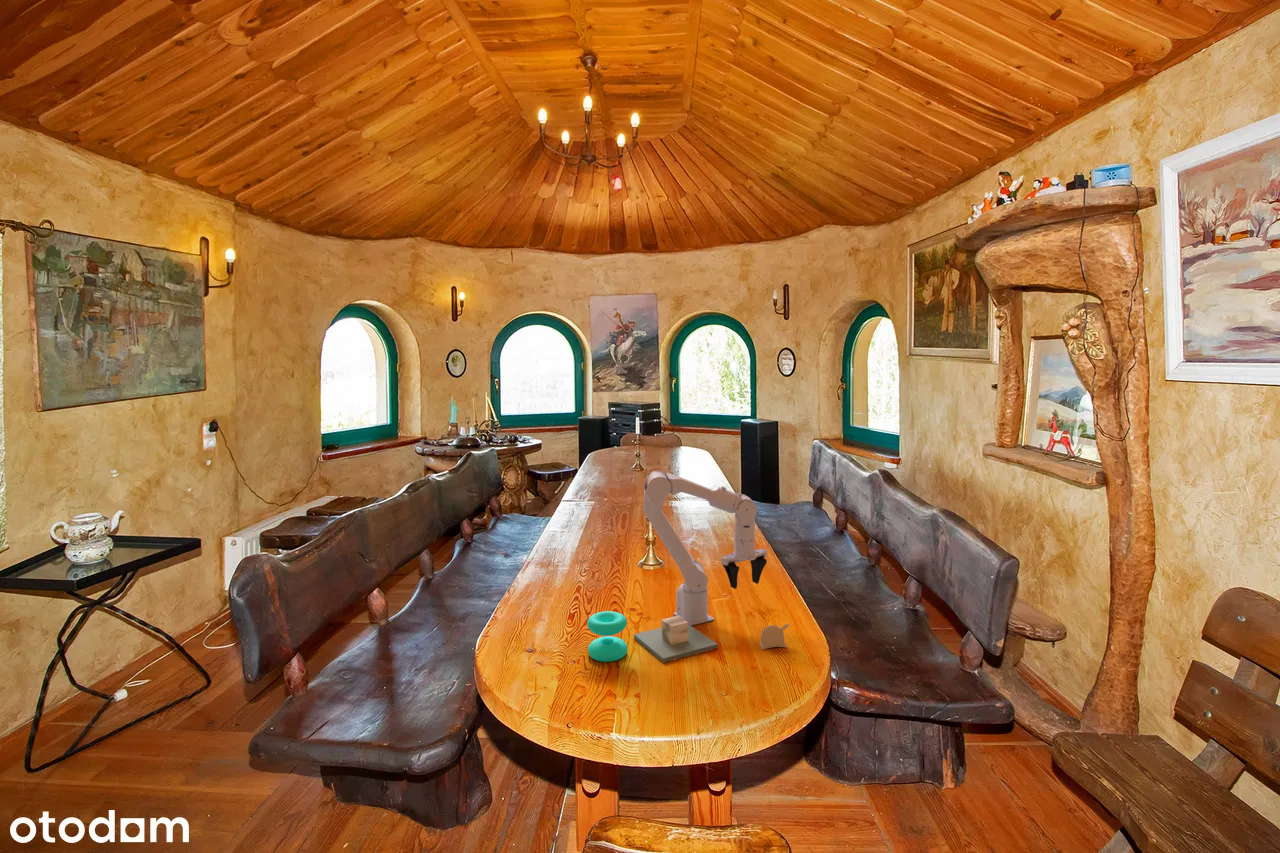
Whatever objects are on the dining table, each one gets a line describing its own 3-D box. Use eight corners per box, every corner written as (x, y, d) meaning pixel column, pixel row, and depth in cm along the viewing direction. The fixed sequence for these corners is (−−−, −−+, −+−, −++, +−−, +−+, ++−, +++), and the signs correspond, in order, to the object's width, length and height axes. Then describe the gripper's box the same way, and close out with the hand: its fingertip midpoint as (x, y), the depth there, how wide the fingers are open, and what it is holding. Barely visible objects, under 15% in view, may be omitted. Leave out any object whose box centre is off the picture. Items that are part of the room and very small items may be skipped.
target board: (634, 638, 180) (634, 634, 180) (685, 625, 188) (685, 621, 187) (663, 663, 166) (663, 658, 166) (717, 648, 173) (717, 644, 173)
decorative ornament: (756, 643, 176) (756, 623, 176) (787, 640, 177) (787, 621, 177) (761, 650, 172) (761, 630, 172) (792, 647, 173) (793, 627, 173)
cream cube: (661, 637, 178) (661, 619, 177) (678, 633, 180) (678, 615, 179) (671, 644, 173) (671, 626, 173) (688, 640, 176) (687, 622, 175)
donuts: (634, 617, 170) (602, 628, 163) (635, 655, 171) (604, 667, 164) (610, 606, 177) (579, 616, 171) (611, 642, 178) (580, 654, 172)
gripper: (731, 546, 183) (731, 594, 185) (774, 538, 190) (773, 584, 192) (717, 539, 190) (717, 586, 191) (758, 532, 196) (758, 577, 198)
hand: (744, 585), depth 192 cm, fingers open, 7 cm apart
